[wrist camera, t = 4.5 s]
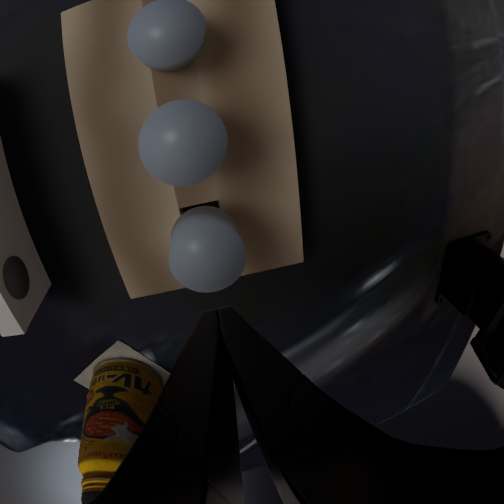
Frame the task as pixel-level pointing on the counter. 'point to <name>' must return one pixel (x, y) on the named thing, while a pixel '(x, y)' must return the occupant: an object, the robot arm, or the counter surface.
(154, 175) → the button mid
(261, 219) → the board
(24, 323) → the white flat bar
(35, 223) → the counter surface
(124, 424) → the condiment
